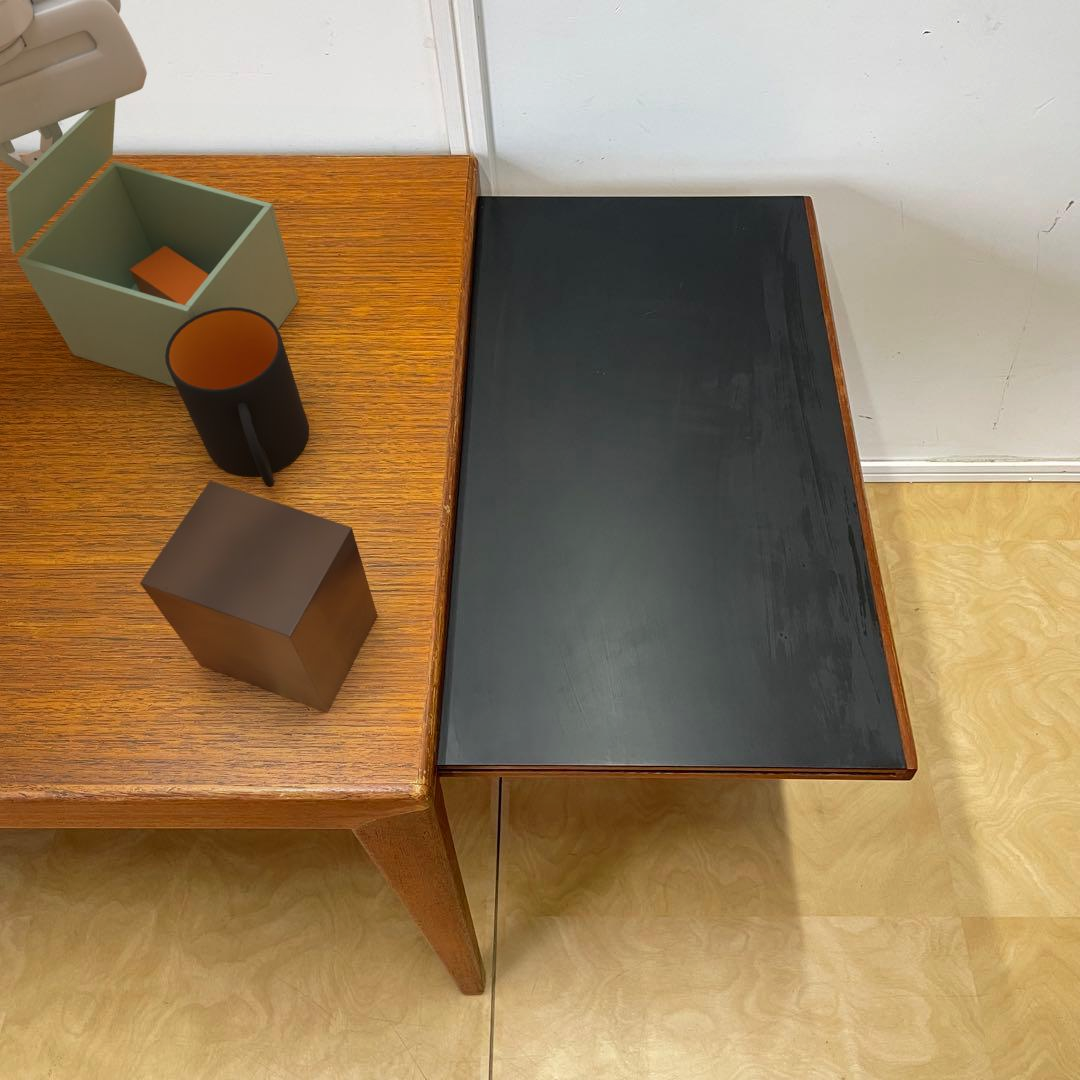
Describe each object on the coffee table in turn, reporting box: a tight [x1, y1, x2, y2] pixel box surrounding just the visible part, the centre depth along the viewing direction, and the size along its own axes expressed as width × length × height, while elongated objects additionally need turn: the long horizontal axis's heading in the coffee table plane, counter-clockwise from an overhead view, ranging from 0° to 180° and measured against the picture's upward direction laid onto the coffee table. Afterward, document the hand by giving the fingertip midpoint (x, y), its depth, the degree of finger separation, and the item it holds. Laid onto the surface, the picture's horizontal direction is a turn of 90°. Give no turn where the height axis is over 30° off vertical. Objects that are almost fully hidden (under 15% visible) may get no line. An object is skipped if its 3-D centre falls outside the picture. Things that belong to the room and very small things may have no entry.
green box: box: [16, 160, 300, 389], centre depth 77 cm, size 15×13×10 cm
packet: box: [130, 246, 209, 305], centre depth 81 cm, size 8×4×3 cm, turn 52°
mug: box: [165, 307, 310, 488], centre depth 70 cm, size 8×12×10 cm
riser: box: [139, 480, 378, 713], centre depth 61 cm, size 10×8×12 cm
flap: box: [5, 99, 117, 255], centre depth 70 cm, size 7×13×1 cm
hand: (45, 179), depth 72 cm, fingers closed
